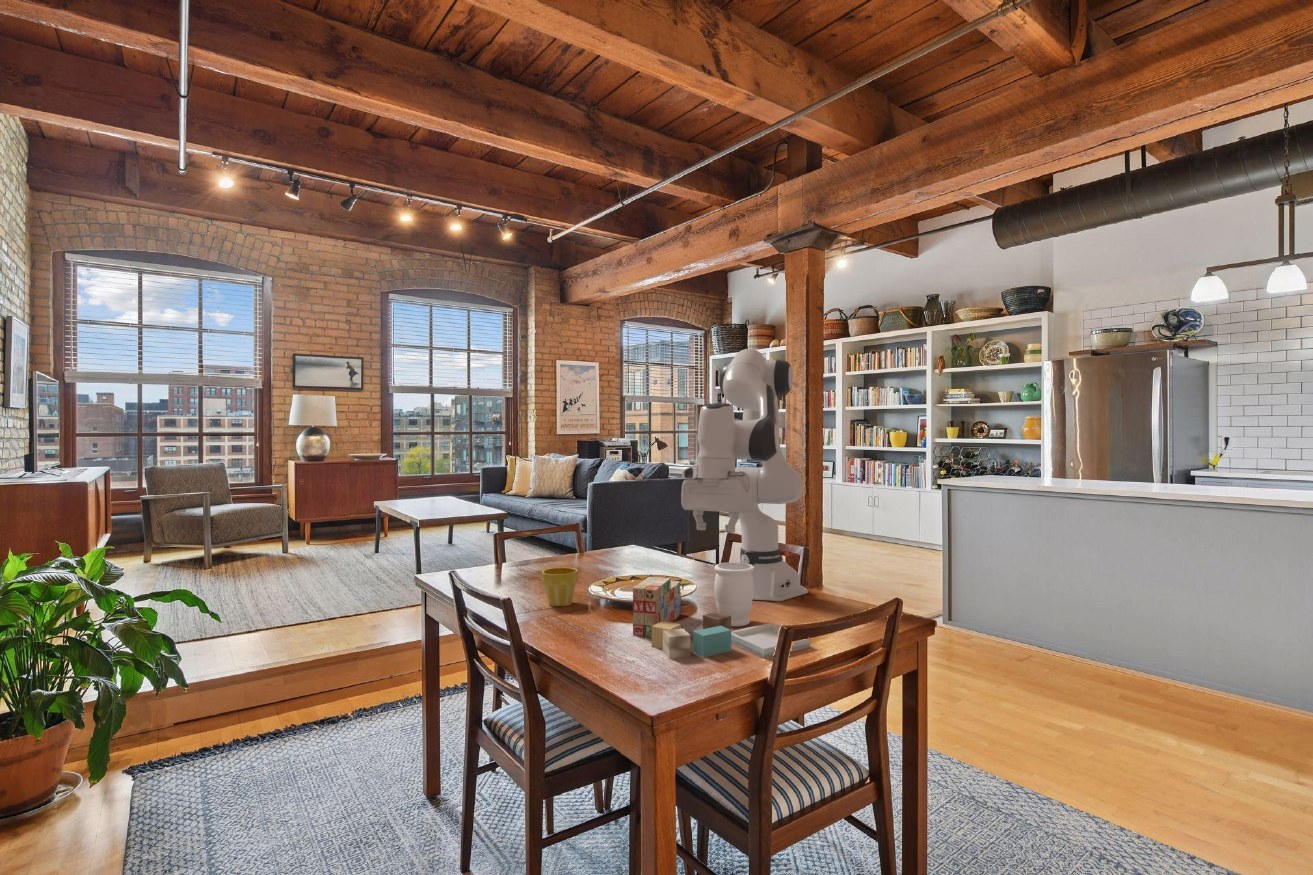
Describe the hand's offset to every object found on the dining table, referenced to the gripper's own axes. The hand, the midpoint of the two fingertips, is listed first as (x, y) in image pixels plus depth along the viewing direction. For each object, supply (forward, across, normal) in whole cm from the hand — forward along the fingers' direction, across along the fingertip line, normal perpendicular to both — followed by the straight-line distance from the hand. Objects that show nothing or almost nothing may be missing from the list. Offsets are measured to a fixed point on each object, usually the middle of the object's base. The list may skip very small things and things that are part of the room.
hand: (715, 531), depth 156 cm
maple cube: (+28, +6, +6) cm, 30 cm away
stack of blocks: (+26, +26, -5) cm, 37 cm away
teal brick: (+28, +2, -1) cm, 28 cm away
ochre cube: (+28, +12, +4) cm, 30 cm away
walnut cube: (+27, +10, -11) cm, 30 cm away
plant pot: (+25, +59, +4) cm, 64 cm away
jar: (+26, +14, -21) cm, 36 cm away
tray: (+27, -3, -15) cm, 31 cm away
